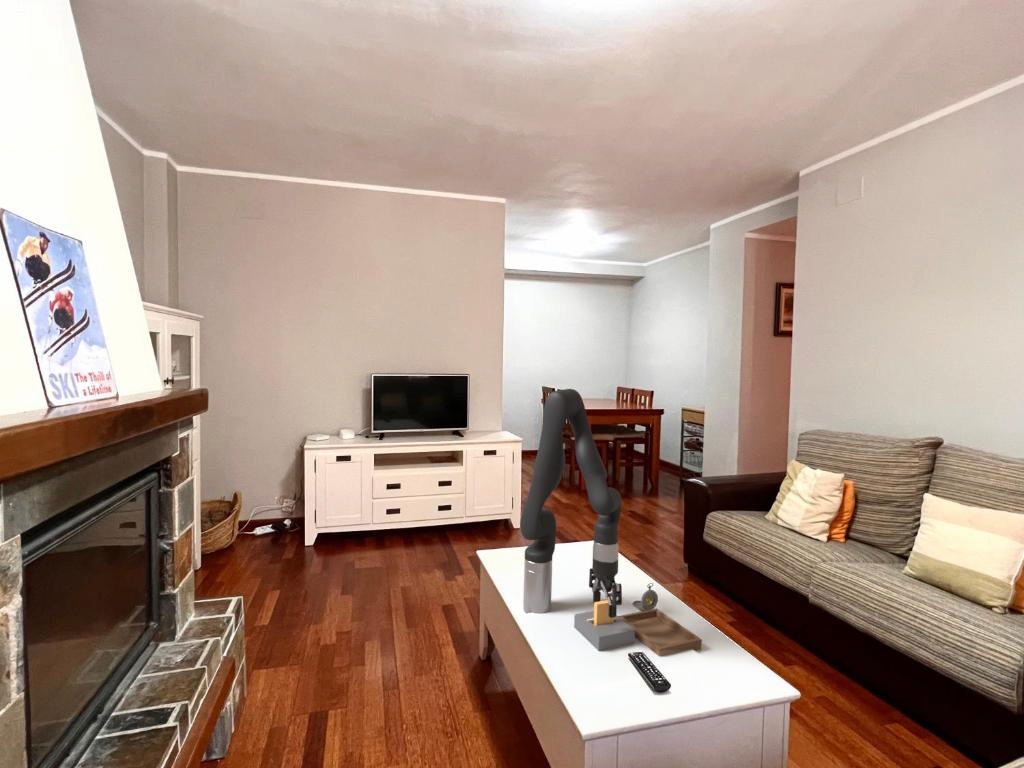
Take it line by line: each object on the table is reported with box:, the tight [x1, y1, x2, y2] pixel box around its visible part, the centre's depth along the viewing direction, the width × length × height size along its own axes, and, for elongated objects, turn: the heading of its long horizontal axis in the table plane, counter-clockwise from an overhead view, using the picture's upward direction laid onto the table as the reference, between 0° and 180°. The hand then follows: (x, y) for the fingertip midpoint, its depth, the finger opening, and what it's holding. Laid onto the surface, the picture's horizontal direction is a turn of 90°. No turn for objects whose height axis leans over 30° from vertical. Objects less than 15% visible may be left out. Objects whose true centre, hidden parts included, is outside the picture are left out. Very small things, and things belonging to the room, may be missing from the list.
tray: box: [617, 608, 703, 657], centre depth 153 cm, size 20×15×3 cm
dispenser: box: [573, 610, 636, 652], centre depth 151 cm, size 14×12×5 cm
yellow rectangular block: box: [593, 598, 614, 626], centre depth 151 cm, size 2×6×10 cm, turn 112°
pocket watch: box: [631, 583, 659, 612], centre depth 170 cm, size 8×8×10 cm
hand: (604, 610), depth 151 cm, fingers open, 8 cm apart
